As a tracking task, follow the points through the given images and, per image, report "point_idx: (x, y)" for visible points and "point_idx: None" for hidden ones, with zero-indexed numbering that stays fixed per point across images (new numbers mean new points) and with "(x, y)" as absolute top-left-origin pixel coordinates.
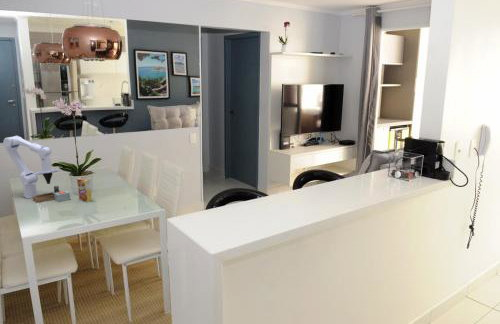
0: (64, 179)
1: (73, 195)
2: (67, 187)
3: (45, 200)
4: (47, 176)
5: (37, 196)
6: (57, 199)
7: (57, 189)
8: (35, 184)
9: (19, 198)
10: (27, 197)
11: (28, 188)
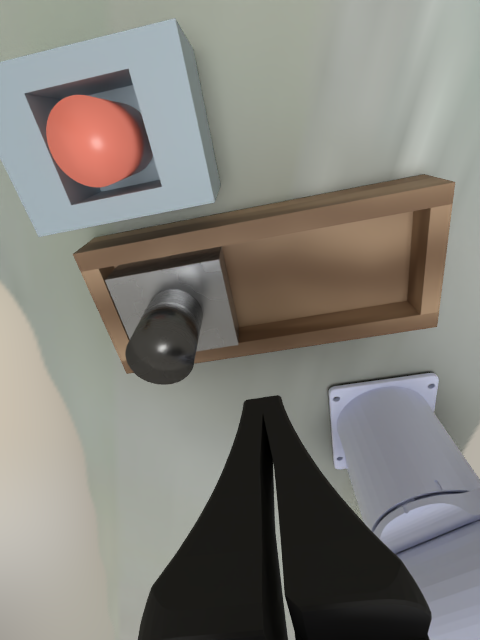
0: (118, 606)
1: (15, 258)
2: (94, 490)
3: (326, 194)
4: (313, 545)
5: (384, 314)
6: (193, 65)
7: (155, 309)
8: (385, 508)
9: (475, 405)
10: (428, 387)
11: (459, 462)
